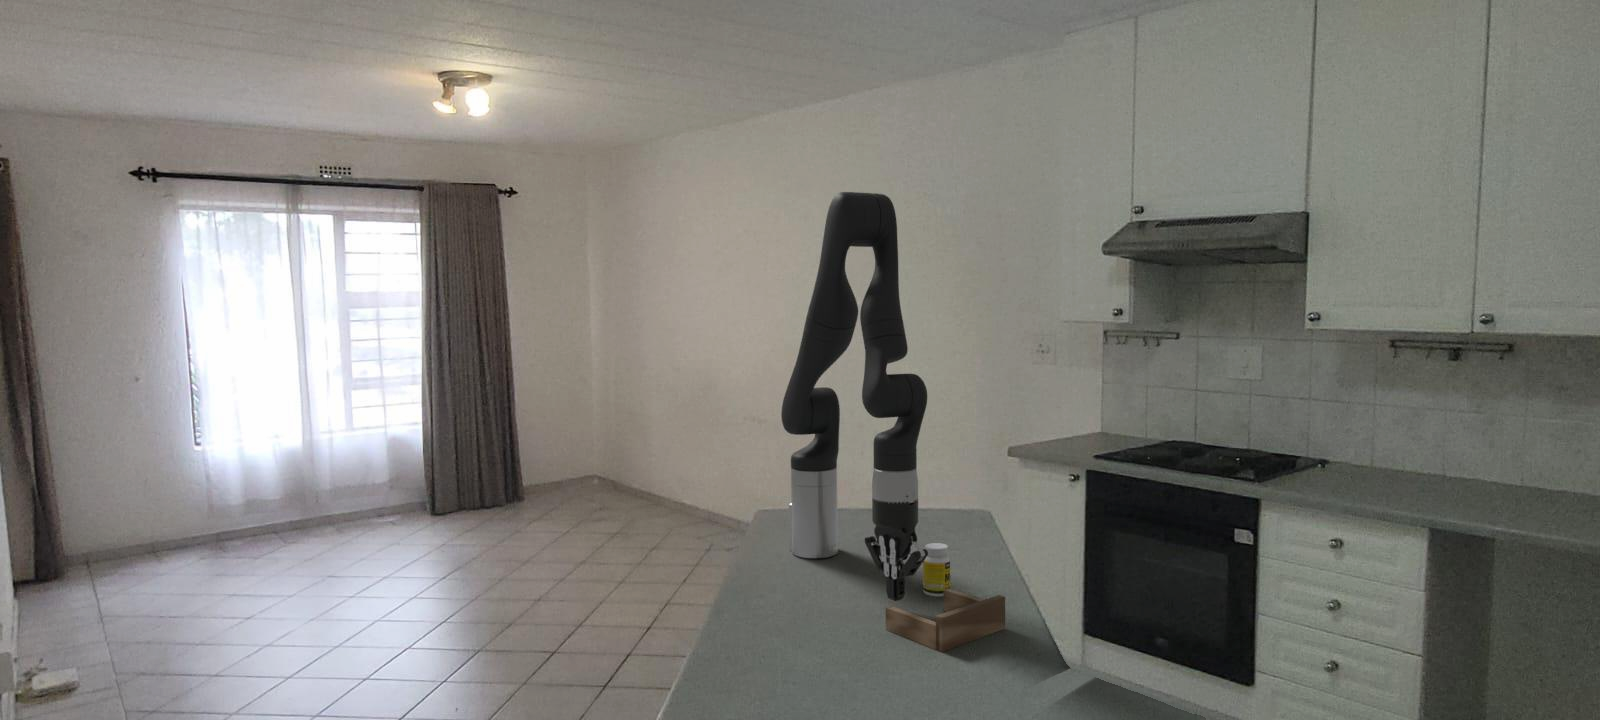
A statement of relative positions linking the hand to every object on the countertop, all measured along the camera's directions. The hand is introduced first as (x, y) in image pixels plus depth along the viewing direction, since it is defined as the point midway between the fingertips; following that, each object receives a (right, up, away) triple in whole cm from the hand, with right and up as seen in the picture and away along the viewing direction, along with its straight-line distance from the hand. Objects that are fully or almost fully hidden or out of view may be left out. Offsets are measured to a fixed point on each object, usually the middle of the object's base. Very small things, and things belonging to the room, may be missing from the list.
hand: (895, 599), depth 140 cm
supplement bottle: (+8, -2, +9) cm, 12 cm away
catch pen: (+7, -2, -8) cm, 11 cm away
